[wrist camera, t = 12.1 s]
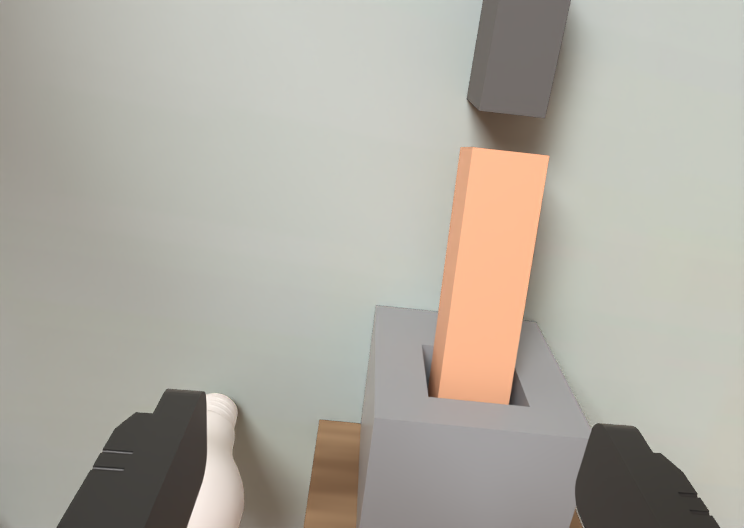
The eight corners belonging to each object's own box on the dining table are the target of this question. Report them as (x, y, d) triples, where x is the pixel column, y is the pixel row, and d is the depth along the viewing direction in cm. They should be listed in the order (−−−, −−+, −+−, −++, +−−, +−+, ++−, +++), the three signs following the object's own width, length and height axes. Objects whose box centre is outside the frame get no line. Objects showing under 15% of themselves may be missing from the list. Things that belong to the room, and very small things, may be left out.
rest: (489, -41, 26) (507, -50, 23) (552, -33, 26) (579, -41, 23) (466, 98, 29) (479, 110, 25) (524, 105, 29) (545, 118, 25)
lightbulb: (285, 380, 35) (246, 529, 25) (251, 456, 37) (203, 623, 27) (184, 343, 34) (102, 483, 24) (156, 424, 36) (69, 583, 26)
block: (375, 305, 33) (374, 417, 24) (536, 321, 33) (596, 439, 24) (360, 423, 36) (354, 564, 27) (507, 437, 36) (552, 581, 27)
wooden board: (319, 419, 36) (298, 559, 27) (548, 441, 36) (606, 586, 27) (317, 446, 37) (296, 591, 27) (541, 467, 37) (594, 617, 28)
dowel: (460, 147, 28) (472, 147, 24) (528, 154, 28) (549, 155, 25) (418, 462, 31) (423, 498, 28) (479, 467, 31) (492, 504, 28)
